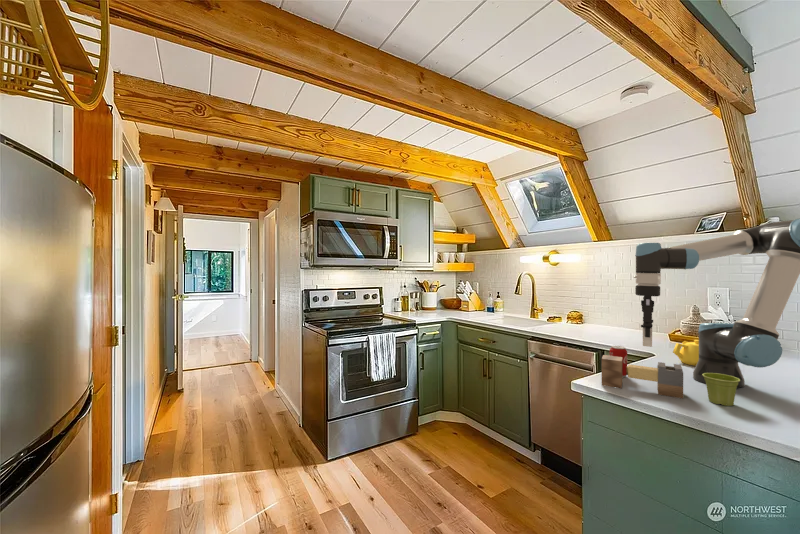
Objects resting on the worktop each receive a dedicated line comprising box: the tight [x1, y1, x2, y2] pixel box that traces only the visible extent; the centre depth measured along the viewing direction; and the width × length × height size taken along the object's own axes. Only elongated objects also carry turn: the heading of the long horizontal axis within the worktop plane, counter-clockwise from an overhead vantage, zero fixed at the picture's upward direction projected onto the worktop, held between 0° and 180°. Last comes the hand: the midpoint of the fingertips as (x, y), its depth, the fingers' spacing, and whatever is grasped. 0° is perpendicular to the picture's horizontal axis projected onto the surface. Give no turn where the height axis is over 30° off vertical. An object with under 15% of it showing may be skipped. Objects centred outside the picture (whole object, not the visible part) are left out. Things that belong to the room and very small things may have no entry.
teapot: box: [672, 339, 699, 367], centre depth 169 cm, size 20×18×11 cm
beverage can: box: [608, 345, 628, 379], centre depth 148 cm, size 6×6×12 cm
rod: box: [626, 363, 675, 383], centre depth 130 cm, size 16×4×4 cm, turn 56°
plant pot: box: [702, 373, 740, 407], centre depth 119 cm, size 9×9×9 cm
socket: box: [601, 354, 623, 390], centre depth 138 cm, size 6×7×10 cm
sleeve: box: [656, 361, 684, 400], centre depth 128 cm, size 7×7×10 cm
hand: (647, 342), depth 131 cm, fingers open, 13 cm apart
